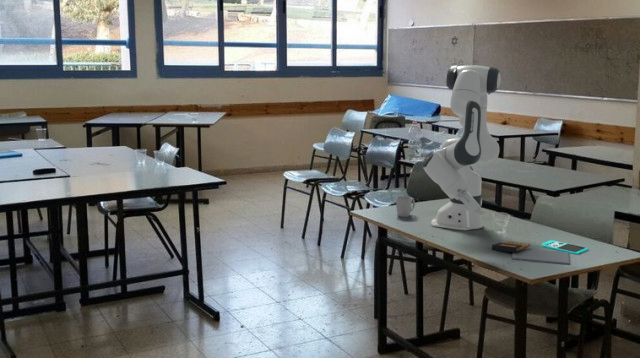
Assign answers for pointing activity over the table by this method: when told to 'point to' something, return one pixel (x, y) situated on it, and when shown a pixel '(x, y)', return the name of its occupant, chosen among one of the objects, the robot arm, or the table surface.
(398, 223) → the table surface
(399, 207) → the cup
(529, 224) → the table surface
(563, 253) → the rubber mat
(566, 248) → the handheld game console
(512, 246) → the ammunition clip
